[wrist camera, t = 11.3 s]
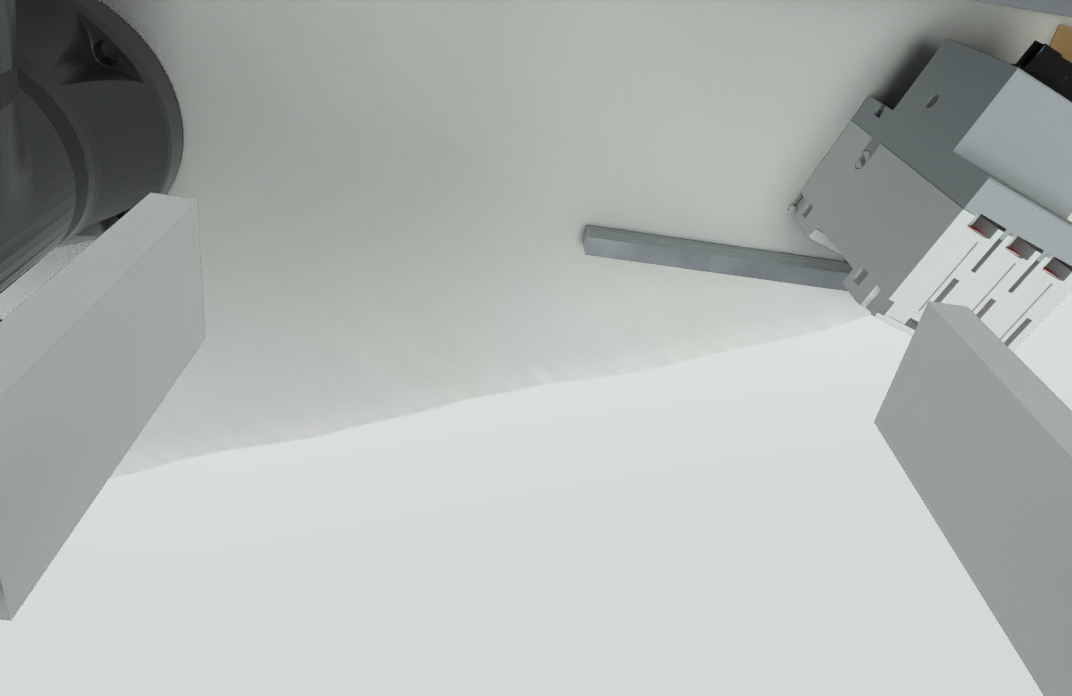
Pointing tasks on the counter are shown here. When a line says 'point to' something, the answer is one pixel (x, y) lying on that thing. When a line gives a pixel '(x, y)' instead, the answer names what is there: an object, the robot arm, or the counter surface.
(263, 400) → the counter surface
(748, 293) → the counter surface
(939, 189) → the circuit breaker
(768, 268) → the dark grey piece
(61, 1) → the robot arm
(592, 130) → the counter surface
